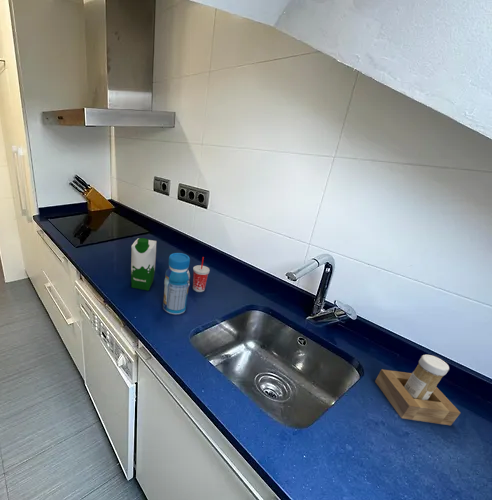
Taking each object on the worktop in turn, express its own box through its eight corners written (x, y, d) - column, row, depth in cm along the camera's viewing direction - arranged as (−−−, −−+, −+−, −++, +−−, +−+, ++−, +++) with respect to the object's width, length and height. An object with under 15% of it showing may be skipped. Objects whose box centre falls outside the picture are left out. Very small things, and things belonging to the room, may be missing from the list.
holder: (417, 387, 73) (425, 374, 71) (450, 426, 64) (460, 412, 62) (374, 381, 74) (381, 369, 72) (401, 418, 65) (409, 405, 63)
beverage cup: (203, 295, 107) (208, 262, 102) (188, 290, 110) (192, 258, 104) (208, 287, 112) (213, 256, 106) (194, 283, 115) (198, 252, 109)
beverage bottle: (174, 318, 94) (179, 265, 86) (157, 306, 100) (160, 255, 92) (191, 309, 99) (198, 258, 91) (174, 298, 105) (179, 249, 97)
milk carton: (128, 288, 110) (129, 240, 101) (135, 277, 118) (136, 232, 109) (150, 292, 108) (153, 244, 99) (156, 280, 116) (159, 235, 107)
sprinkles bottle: (426, 413, 66) (455, 372, 61) (402, 407, 68) (429, 366, 62) (415, 397, 70) (442, 356, 65) (393, 391, 72) (418, 351, 66)
